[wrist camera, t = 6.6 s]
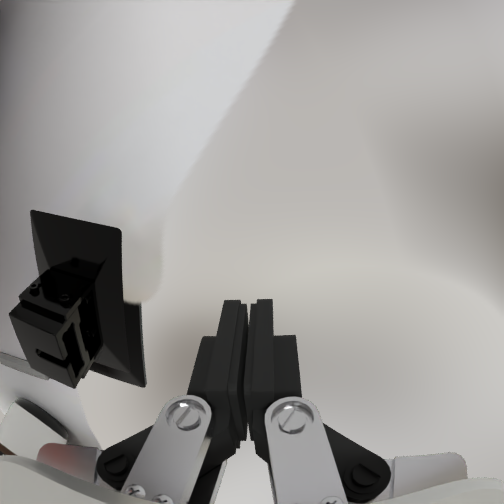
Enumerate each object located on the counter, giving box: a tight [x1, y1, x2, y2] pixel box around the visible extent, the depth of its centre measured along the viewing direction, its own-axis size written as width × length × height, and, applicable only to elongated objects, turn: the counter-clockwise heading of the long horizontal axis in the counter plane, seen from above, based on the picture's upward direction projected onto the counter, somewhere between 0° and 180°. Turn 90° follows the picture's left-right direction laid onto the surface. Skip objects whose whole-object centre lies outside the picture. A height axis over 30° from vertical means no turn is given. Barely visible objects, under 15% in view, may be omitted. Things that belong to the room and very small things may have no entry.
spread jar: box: [0, 398, 68, 460], centre depth 17 cm, size 12×11×12 cm
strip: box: [0, 352, 50, 380], centre depth 16 cm, size 1×7×1 cm, turn 93°
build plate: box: [9, 210, 147, 389], centre depth 11 cm, size 12×7×5 cm, turn 169°
